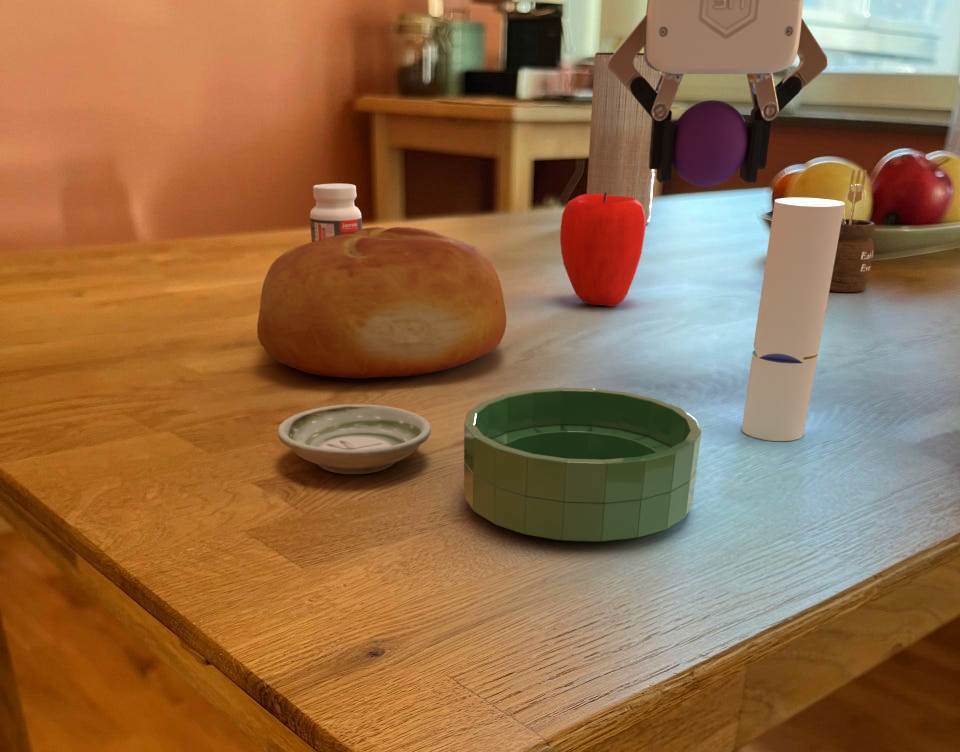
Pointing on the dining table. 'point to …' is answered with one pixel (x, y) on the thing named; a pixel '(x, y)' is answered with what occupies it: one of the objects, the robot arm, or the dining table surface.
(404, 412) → the saucer
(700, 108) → the ball
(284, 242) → the dining table surface
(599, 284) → the apple
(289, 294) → the bread
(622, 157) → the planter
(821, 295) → the tube
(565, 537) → the bowl
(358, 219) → the pill bottle
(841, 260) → the utensil holder
